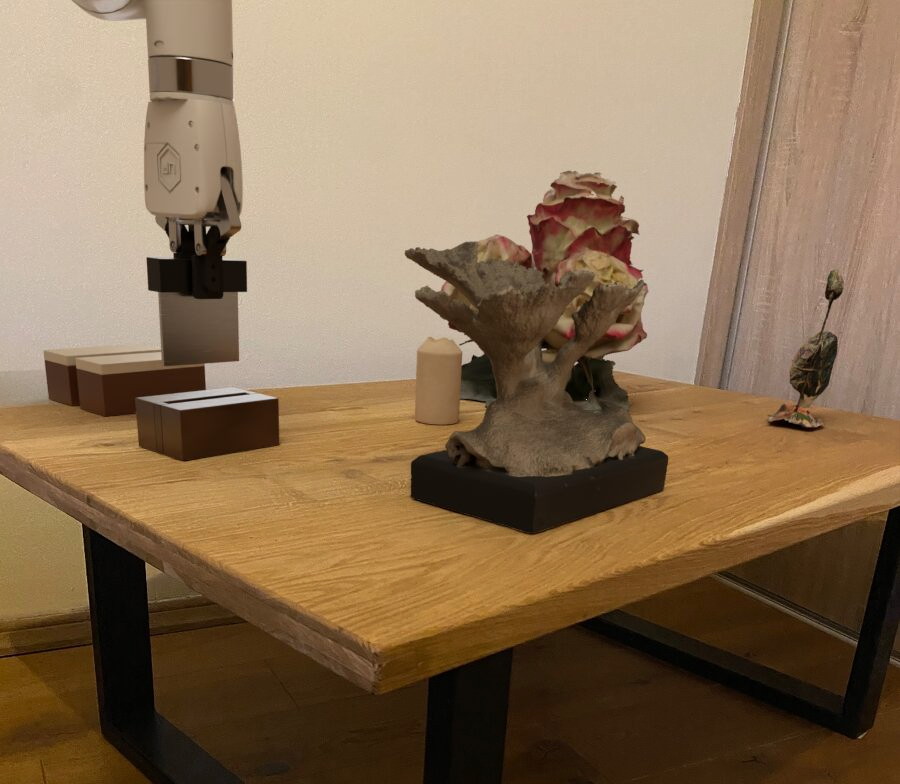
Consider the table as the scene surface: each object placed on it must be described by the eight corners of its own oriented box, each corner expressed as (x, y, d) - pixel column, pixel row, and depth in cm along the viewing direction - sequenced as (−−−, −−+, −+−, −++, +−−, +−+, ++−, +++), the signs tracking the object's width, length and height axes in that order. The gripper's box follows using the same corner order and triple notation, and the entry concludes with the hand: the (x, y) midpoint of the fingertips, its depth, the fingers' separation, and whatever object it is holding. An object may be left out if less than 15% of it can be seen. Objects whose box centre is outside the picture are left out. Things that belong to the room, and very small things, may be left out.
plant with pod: (842, 423, 127) (875, 270, 120) (808, 433, 120) (840, 269, 112) (786, 414, 132) (814, 265, 125) (750, 422, 125) (777, 265, 117)
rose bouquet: (414, 394, 132) (422, 162, 121) (564, 383, 149) (583, 178, 138) (532, 429, 114) (555, 159, 102) (688, 412, 130) (723, 178, 119)
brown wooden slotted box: (183, 461, 91) (180, 410, 89) (138, 446, 96) (134, 397, 94) (279, 445, 99) (278, 398, 97) (234, 432, 104) (232, 387, 102)
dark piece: (164, 368, 90) (159, 258, 86) (152, 365, 91) (146, 257, 87) (248, 362, 97) (246, 260, 93) (235, 359, 98) (233, 259, 95)
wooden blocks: (105, 416, 108) (100, 364, 106) (48, 399, 116) (42, 350, 114) (206, 404, 118) (204, 356, 116) (147, 388, 126) (144, 343, 124)
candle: (407, 421, 114) (410, 338, 110) (425, 414, 119) (428, 334, 115) (448, 427, 112) (452, 342, 109) (465, 419, 117) (469, 338, 113)
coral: (503, 545, 72) (525, 249, 64) (333, 488, 84) (333, 235, 76) (671, 492, 89) (705, 254, 81) (508, 451, 101) (524, 242, 93)
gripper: (107, 84, 87) (121, 290, 94) (209, 76, 77) (215, 306, 84) (177, 95, 92) (185, 289, 99) (280, 90, 83) (281, 305, 90)
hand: (199, 295), depth 92 cm, fingers closed on dark piece, 2 cm apart
